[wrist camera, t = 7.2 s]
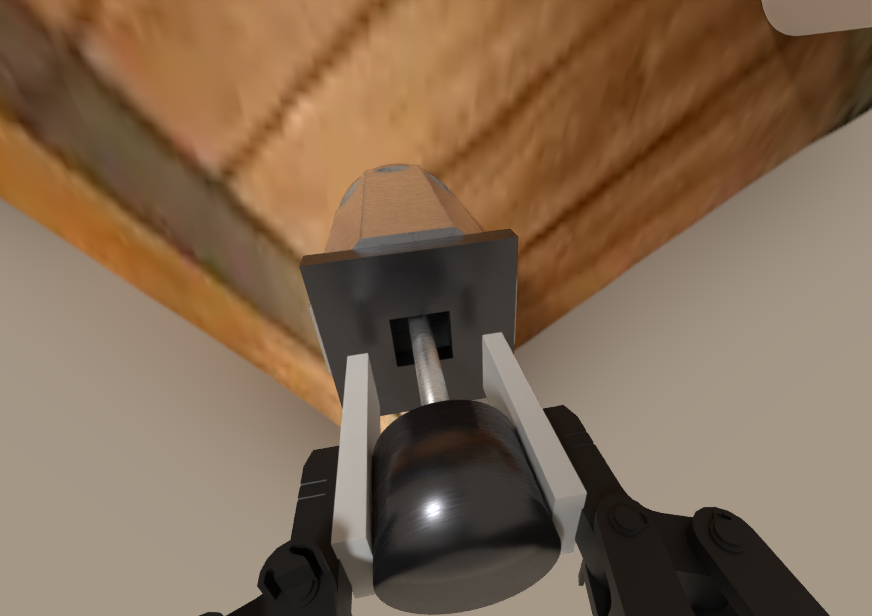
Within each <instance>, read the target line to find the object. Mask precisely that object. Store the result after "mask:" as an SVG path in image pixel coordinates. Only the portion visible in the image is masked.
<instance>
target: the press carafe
mask: <svg viewBox="0 0 872 616" xmlns="http://www.w3.org/2000/svg"><path fill="white" fill-rule="evenodd" d="M517 258H518V236H517V235H516V234H515V233H514V232H513V231H512V230H511V229H504V230H496V231H489V232H482V231H481V229H480V228H479V227H478V226H477V224H476V223H475V222H474V220H473V219H472V218H471V216H470V215H469V214H468V213H467V211H466V210H465V209H464V207H463V206H462V205H461V204H460V202H459V201H458V200H457V198H456V197H455V196H454V195H453V194H451V192H450V191H449V190H448V188H447V187H446V186H445V185H444V184H443V183H442V182H441V181H440V180H439V179H438V178H437V177H435V176H434V175H433V174H431V173H429V172H427V171H426V170H423V169H422V168H421V167H420V166H419V165H418V166H417V165H403V164H394V165H386V166H382V167H379V168H376V169H373V170H366V172H365V171H364V173H363V174H362V176H361V177H360V178H358V179H357V180H356V181H355V182H354V183H353V184H352V185H351V187H350V188H349V189H348V190H347V192H346V194H345V195H344V197H343V199H342V202H341V204H340V207H339V208H338V209H337V211H336V213H335V217H334V220H333V224H332V227H331V231H330V235H329V238H328V242H327V245H326V249H325V252H324V253H322V254H314V255H306V256H303V259H302V261H301V264H300V266H299V267H300V270H301V273H302V277H303V280H304V283H305V287H306V290H307V293H308V296H309V300H310V305H309V310H310V313H311V317H312V320H313V323H314V326H315V329H316V333H317V336H318V339H319V342H320V346H321V349H322V352H323V355H324V359H325V362H326V365H327V368H328V372H329V373H331V374H330V375H332V376H333V379H334V382H335V386H336V389H337V392H338V396H339V399H340V402H341V405H342V409H343V401H344V389H345V378H346V367H347V356H352V355H359V354H365V353H368V355H369V360H370V364H371V369H372V373H373V378H374V382H375V386H376V391H377V395H378V400H379V404H380V416H383V415H389V414H394V413H400V412H406V411H411V410H413V409H416V408H418V407H421V399H420V393H419V387H418V380H417V374H416V368H415V361H414V355H413V349H412V342H411V336H410V330H409V324H408V317H411V316H417V315H424V314H428V317H429V321H430V325H431V329H432V333H433V337H434V341H435V345H436V349H437V353H438V357H439V361H440V365H441V369H442V373H443V377H444V381H445V385H446V388H447V392H448V396H449V400H476V399H482V398H487V397H486V394H485V391H484V389H483V352H482V335H486V334H493V333H499V332H502V334H503V336H504V338H505V340H506V342H507V343H508V345H509V347H510V349H511V351H512V353H513V355H514V344H515V323H516V299H517Z"/></svg>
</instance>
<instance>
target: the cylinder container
mask: <svg viewBox="0 0 872 616" xmlns="http://www.w3.org/2000/svg"><path fill="white" fill-rule="evenodd" d="M761 1H762V6H763V10H764V13H765V15H766V17H767V19H768V21H769V22H770V24H771V25H772V26H773V27H774V28H775V29H776V30H778V31H779V32H781V33H783V34H786V35H791V36H803V35H811V34H819V33H827V32H836V31H844V30H852V29H860V28H869V27H872V0H761Z"/></svg>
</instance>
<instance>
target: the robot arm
mask: <svg viewBox="0 0 872 616" xmlns="http://www.w3.org/2000/svg"><path fill="white" fill-rule="evenodd" d="M482 352H483V389H484V391H485V394H486V397H487V399H488V402H489V405H490V406H492V407H494V408H496V409H498V410H499V411H501V412H502V413H503V414H504V415H505V416H507V418H508V419H509V420H510V422H511V423H512V425H513V427H514V430H515V432H516V434H517V437H518V439H519V442H520V444H521V446H522V449H523V451H524V453H525V456H526V458H527V461H528V463H529V465H530V468H531V470H532V473H533V475H534V477H535V480H536V482H537V484H538V487H539V489H540V492H541V494H542V496H543V499H544V501H545V504H546V506H547V508H548V511H549V513H550V516H551V518H552V520H553V523H554V525H555V527H556V530H557V532H558V535H559V537H560V540H561V552H560V555H561V554H565V553H570V552H573V551H574V546H575V542H576V543H577V545H578V548H579V550H580V552H581V554H582V557H583V560H582V564H581V568H580V572H579V576H578V577H579V586H583V585H584V581H585V584H586V588H587V593H588V597H589V601H590V605H591V610H592V614H593V616H829V614H828V613H827V612H826V611H825V610H824V609H823V608H822V606H821V605H820V604H819V603H818V602H817V601H816V600H815V599H814V597H813V596H812V595H811V594H810V593H809V592H808V591H807V589H806V588H805V587H804V586H803V585H802V584H801V583H800V582H799V581H798V579H797V578H796V577H795V576H794V575H793V574H792V573H791V571H790V570H788V568H787V567H786V566H785V565H784V564H783V562H782V561H781V560H780V559H779V558H778V557H777V556H776V555H775V554H774V552H773V551H772V550H771V549H770V548H769V547H768V545H767V544H766V543H765V542H764V541H763V540H762V539H761V538H760V537H759V535H758V534H757V533H756V532H755V531H754V530H753V529H752V528H751V527H750V526H749V525H748V524H747V523H746V522H745V521H743V520H742V519H741V518H739V517H738V516H736V515H734V514H733V513H731V512H729V511H726V510H723V509H720V508H716V507H703V508H702V509H700V510H698V511H696V512H695V515H694V516H693V517H686V516H678V515H672V514H664V513H660V512H655V511H652V510H649V509H647V508H645V507H643V506H642V505H640V503H638V502H637V501H635V500H633V499H632V498H631V497H630V496H628V495H627V493H626V492H625V491H624V490H623V488H622V487H621V485H620V484H619V482H618V480H617V479H616V477H615V476H614V474H613V473H612V471H611V469H610V468H609V466H608V465H607V463H606V461H605V460H604V458H603V457H602V455H601V454H600V452H599V450H598V449H597V447H596V445H594V444H593V441H592V439H591V438H590V436H589V434H588V433H587V432H586V430H585V428H584V426H583V425H582V423H581V421H580V420H579V418H578V417H577V416H576V415H575V414H574V413H573V412H571V411H570V410H569V409H568V408H567V407H565V406H564V405H561V406H556V407H550V408H544V409H542V407H541V405H540V404H539V402H538V400H537V398H536V396H535V394H534V392H533V390H532V389H531V387H530V385H529V383H528V381H527V379H526V377H525V375H524V374H523V372H522V370H521V368H520V366H519V364H518V362H517V360H516V359H515V357H514V355H513V353H512V351H511V349H510V347H509V345H508V343H507V342H506V340H505V338H504V336H503V334H502V332H499V333H493V334H486V335H482ZM380 435H381V433H380V404H379V400H378V395H377V391H376V386H375V382H374V378H373V373H372V369H371V364H370V360H369V355H368V353H365V354H359V355H352V356H347V367H346V378H345V389H344V401H343V412H342V423H341V435H340V446H335V447H329V448H323V449H317V450H313V452H312V453H311V455H310V456H309V458H308V460H307V462H306V463H305V465H304V467H303V473H302V478H301V487H300V490H299V495H298V502H297V506H296V513H295V517H294V523H293V529H292V535H291V540H290V541H288V542H286V543H285V544H283V545H282V546H280V547H278V548H277V549H276V550H275V551H274V552H273V553H272V554H271V555H270V556H269V557H268V559H267V560H266V562H265V564H264V566H263V568H262V569H261V571H260V575H259V580H258V585H257V587H258V588H259V589H260V590H261V592H262V593H263V594H262V595H260V596H259V597H257V598H256V599H254V600H253V601H251V602H249V603H247V604H246V605H244V606H242V607H241V608H239V609H237V610H235V611H233V612H232V613H230V614H228V615H227V616H352V614H351V604H352V592H353V594H354V596H355V598H359V597H364V596H369V595H374V594H376V593H375V591H374V588H373V450H374V446H375V444H376V442H377V440H378V438H379V437H380ZM200 616H223V615H222V614H221V613H218V612H207V613H205V614H202V615H200Z"/></svg>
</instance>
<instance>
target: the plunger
mask: <svg viewBox="0 0 872 616" xmlns="http://www.w3.org/2000/svg"><path fill="white" fill-rule="evenodd" d="M408 324H409V330H410V336H411V342H412V349H413V355H414V361H415V368H416V374H417V380H418V387H419V393H420V399H421V407H418V408H416V409H413V410H411V411H409V412H407V413H405V414H404V415H402V416H400V417H399V418H398V419H396V420H395V421H393V422H392V423H391V424H390V425H389V426H388V427H387V428H386V429H385V430H384V431H383V432H382V433H381V435H380V437H379V438H378V440H377V442H376V444H375V446H374V450H373V588H374V591H375V593H376V595H377V596H378V597H379V599H380V600H381V601H383V602H384V603H386V604H387V605H389V606H391V607H393V608H395V609H398V610H401V611H405V612H409V613H416V614H429V615H432V614H451V613H458V612H464V611H470V610H474V609H478V608H482V607H485V606H488V605H492V604H495V603H498V602H500V601H503V600H505V599H508V598H510V597H512V596H514V595H516V594H518V593H520V592H522V591H524V590H526V589H527V588H529V587H531V586H532V585H533V584H535V583H536V582H538V581H539V580H540V579H541V578H543V577H544V576H545V575H546V574H547V573H548V572H549V571H550V570H551V569H552V567H553V566H554V565H555V563H556V562H557V560H558V558H559V555H560V552H561V540H560V537H559V535H558V532H557V530H556V527H555V525H554V523H553V520H552V518H551V516H550V513H549V511H548V508H547V506H546V504H545V501H544V499H543V496H542V494H541V492H540V489H539V487H538V484H537V482H536V480H535V477H534V475H533V473H532V470H531V468H530V465H529V463H528V461H527V458H526V456H525V453H524V451H523V449H522V446H521V444H520V442H519V439H518V437H517V434H516V432H515V430H514V427H513V425H512V423H511V422H510V420H509V419H508V418H507V416H505V415H504V414H503V413H502V412H501V411H499V410H498V409H496V408H494V407H492V406H490V405H487V404H484V403H481V402H476V401H471V400H449V396H448V392H447V388H446V385H445V381H444V377H443V373H442V369H441V365H440V361H439V357H438V353H437V349H436V345H435V341H434V337H433V333H432V329H431V325H430V321H429V317H428V314H424V315H417V316H411V317H408Z"/></svg>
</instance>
